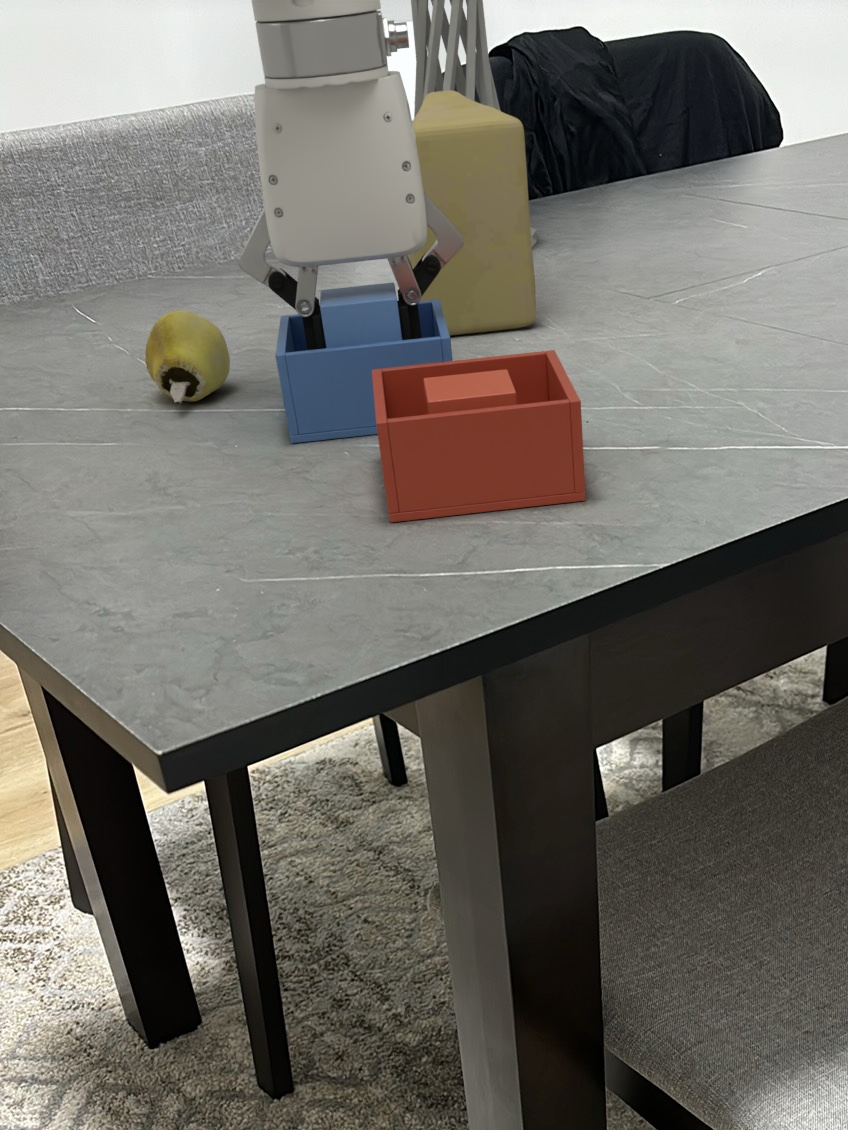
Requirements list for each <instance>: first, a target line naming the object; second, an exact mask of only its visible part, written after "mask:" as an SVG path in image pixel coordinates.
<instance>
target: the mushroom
mask: <svg viewBox="0 0 848 1130" xmlns="http://www.w3.org/2000/svg"><path fill="white" fill-rule="evenodd" d="M230 357H231V356H230V353H229V350H228V345H227V341H226V339H225V337H224V335H223V333H222V331H221V329H220V328H219V327H218V326H217V325H216V324H215V323H213V322H211V321H210V320H208V319H207V318H205V317H203V316H201V315H199V314H196V313H195V312H192V311H190V310H184V309H183V310H182V309H181V310H180V309H179V310H173V311H170V312H167V313H165V314H164V315H162V316H161V317H160V318H159V319H158V320H157V321H156V322H155V324H154V325H153V326H152V328H151V330H150V333H149V335H148V338H147V341H146V344H145V351H144V361H145V366H146V369H147V373H148V374H149V376H150V378H151V380H152V381H153V382H154V383H155V384H156V386H157V387H158V389H159V390H160V391H161V392H162V393H163V394H164V395H166V396H167V397H169V398H171V399H172V400H173V401H174V403H175V404H176V405H181V404H182V402H183V401H185V402H190V403H192V402H197V401H200V400H202V399H204V398H205V397H207V396H209V395H210V394H211V393H214V392H216V391H218V390H219V389H220V388H221V387H222V386H223V384H224V383H225V381H226V380H227V378H228V377H229V373H230V367H231V358H230Z"/></svg>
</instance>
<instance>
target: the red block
mask: <svg viewBox="0 0 848 1130" xmlns="http://www.w3.org/2000/svg"><path fill="white" fill-rule="evenodd" d="M423 382H424V390H425V399H426V407H427V415H428V414H437V413H446V412H456V411H465V410H474V409H483V408H492V407H501V406H511V405H517V397H516V391H515V389H514V386H513V383H512V381H511V378H510V376H509V373H508V371H507V370H506V369H505V370H495V371H486V372H477V373H467V374H458V375H449V376H440V377H430V378H424V379H423Z"/></svg>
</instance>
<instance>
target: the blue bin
mask: <svg viewBox="0 0 848 1130" xmlns="http://www.w3.org/2000/svg"><path fill="white" fill-rule="evenodd" d="M418 311H419V319H420V328H421V336H422V338H420V339H410V340H401V341H391V342H382V343H373V344H363V345H354V346H344V347H335V348H325V349H316V350H307V344H306V338H305V332H304V326H303V320H302V316H300V315H299V314H298V313H297V314H295V313H294V314H286V315H280V320H279V327H278V334H277V343H276V350H275V362H276V366H277V373H278V377H279V379H278V380H279V385H280V389H281V396H282V401H283V406H284V412H285V418H286V423H287V429H288V435H289V440H290V444H299V443H300V444H301V443H308V442H317V441H319V442H320V441H327V440H337V439H344V438H346V439H347V438H354V437H356V438H357V437H365V436H372V435H378V433H377V426H376V415H375V404H374V392H373V381H372V370H374V369H382V368H391V367H401V366H410V365H419V364H429V363H438V362H448V361H454V359H453V350H452V342H451V336H450V335H449V332H448V328H447V324H446V321H445V317H444V314H443V310H442V307H441V303H440V300H439V299H437V300H428V301H420V302H419V303H418Z"/></svg>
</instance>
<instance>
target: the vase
mask: <svg viewBox="0 0 848 1130" xmlns="http://www.w3.org/2000/svg"><path fill="white" fill-rule="evenodd" d="M430 2H431V5H432V12H431V15H430V10H429V0H410V6H411V17H412V27H413V39H414V51H415V52H414V53H415V85H414V86H415V89H414V112H413V113H414V114H413V119H414V118H415V116H416V115H417V113H418V112H419V110H420V108H421V106H422V103H423V101H424V98H425V97H426V96H427V94H429V93H431V92H439V91H449V90H451V91H455V87H456V90H457V92H458V93H460V94H461V95H463V96H465V97H467V98H469V99H471V100H473V101H475V97H476V95H475V91H476V93H477V97H478V100H479V103H480V104H483V105H486V106H490V107H493V108H495V109H497V110H499V111H501V107H500V103H499V99H498V95H497V94H498V93H497V89H496V86H495V82H494V76H493V72H492V68H491V63H490V59H489V58H490V57H489V48H488V40H487V39H488V38H487V37H488V36H487V29H486V20H485V9H484V8H485V7H484V0H465V4H466V13H465V10H464V7H463V6H464V0H449V3H450V7H451V8H450V15H449V16H450V17H449V19H448V15H447V11H446V9H445V2H446V0H430ZM441 40H442V43H443V47H444V50H445V53H446V56H445V67H444V77H443V72H442V67H441V63H440V59H439V58H440V57H439V55H440V46H441ZM460 40H461V44H462V47H463V50H464V53H465V73H464V70H463V69H464V68H463V66H462V63H461V59H460V56H459V46H460ZM530 230H531V243H532V248H533V247H534V246H535V245H536V244H537V242H538V238H537V237H538V236H537V230H536V229H535V228H533V227H532V226H531V225H530ZM408 258H409V255H408Z"/></svg>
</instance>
